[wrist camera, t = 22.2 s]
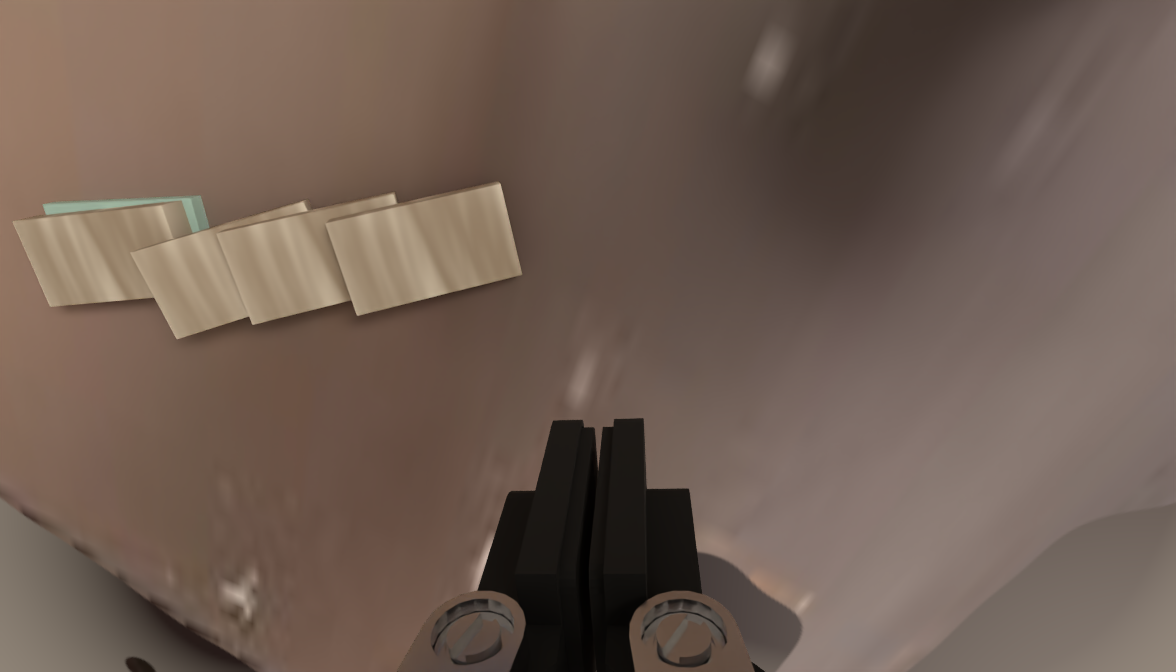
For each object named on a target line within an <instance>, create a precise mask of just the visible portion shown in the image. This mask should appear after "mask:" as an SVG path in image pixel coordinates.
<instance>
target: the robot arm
mask: <svg viewBox="0 0 1176 672" xmlns="http://www.w3.org/2000/svg"><path fill="white" fill-rule="evenodd" d="M397 672H765V671H764V670H762V669H760V668H759V667H758V666H757V665H755V664H754V663H752V662H751V660H750V657H749V655H748V652H747V649H746V647H745V644H744V641H743V639H742V636H741V633H740V630H739V628H738V625H737V623H736V622H735V620H734V618H733V616H732V615H731V613H730V612H729V611H728V610H727V609H726V608H725V607H724V606H722V605H721V604H720V603H719V602H718V601H716V600H714V599H712V598H710V597H708V596H706V595H703V594H702V590H701V581H700V573H699V565H698V557H697V549H696V540H695V532H694V524H693V516H692V508H691V500H690V492H689V489H647V485H646V462H645V439H644V419H643V418H637V419H614V427H603V431H602V440H601V450H600V460H599V470H598V465H597V451H596V438H595V429H594V427H587V428H584V423H583V420H559V421H553V423H552V426H551V430H550V434H549V438H548V442H547V446H546V450H545V454H544V458H543V462H542V466H541V470H540V474H539V478H538V482H537V486H536V490H535V491H511V492H509V494H508V496H507V498H506V501H505V504H504V508H503V511H502V514H501V517H500V520H499V524H498V527H497V530H496V533H495V536H494V540H493V543H492V546H491V549H490V552H489V556H488V559H487V562H486V565H485V568H484V571H483V575H482V578H481V581H480V584H479V587H478V591H474V592H470V593H466V594H461V595H459V596H457V597H455V598H453V599H451V600H449V601H446V602H445V603H444V604H443V605H441V606H440V607H439V608H437V609H436V610H435V611H434V612H433V613H432V614H431V615H430V617H429V618H428V619H427V621H426V622H425V623H424V625H423V627H422V628H421V630H420V632H419V633H418V635H417V637H416V639H415V640H414V642H413V644H412V646H411V647H410V649H409V651H408V653H407V654H406V656H405V658H404V659H403V661H402V663H401V665H400V666H399V668H398V670H397Z"/></svg>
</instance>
